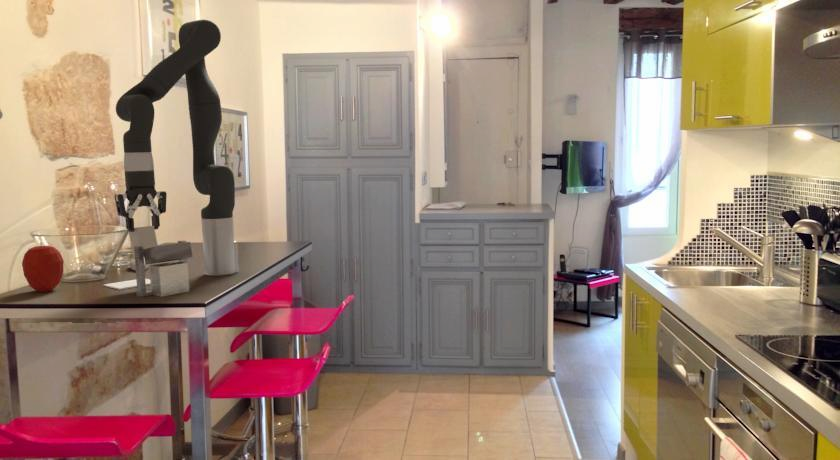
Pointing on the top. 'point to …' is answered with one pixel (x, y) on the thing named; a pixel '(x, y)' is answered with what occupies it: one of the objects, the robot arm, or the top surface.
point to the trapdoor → (165, 253)
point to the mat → (126, 284)
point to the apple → (43, 268)
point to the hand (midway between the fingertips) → (143, 230)
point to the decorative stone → (132, 265)
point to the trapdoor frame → (161, 276)
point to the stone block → (143, 237)
